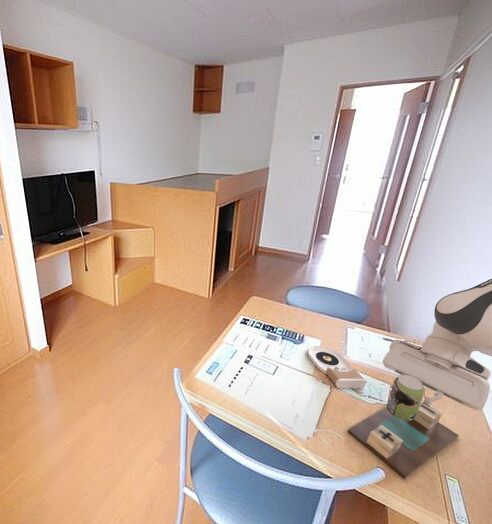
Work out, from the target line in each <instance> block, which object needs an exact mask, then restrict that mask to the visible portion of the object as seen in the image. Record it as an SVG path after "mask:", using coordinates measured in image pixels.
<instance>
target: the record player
mask: <svg viewBox="0 0 492 524" xmlns="http://www.w3.org/2000/svg"><path fill="white" fill-rule="evenodd" d="M307 355H308V358H309V359H310V360H311V361H312V363H313V365H315V367H316V368H317V369H318V370H320V371H321V372H322V373H323V374H325V375H327V377H328V378H329V379H330V380H331V381H332V383H333V384H334V386H336V387H337V389H362V388H365V387H366V385H367V380H366V379H365V378H364V377H363V376H362V375H361V373H359V371H357V370H356V369H355V368H353V366H352V365H351V362H349V361H348V360H347V359H346V358H345V357H344V355H342V354H341V353H340V352H339V351H337V350H336V349H333V348H331V347H328V346H324V345H313V346H311V347H310V348H309V349H308V353H307Z"/></svg>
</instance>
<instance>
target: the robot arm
mask: <svg viewBox="0 0 492 524" xmlns="http://www.w3.org/2000/svg"><path fill="white" fill-rule="evenodd" d="M433 316H434V319H435V322H434V323H433V326H432V331H431V332H430V334H428V335H427V337H426V338H425V340H424V341H423V343H422V345H421V346H420V345H417V344H415V343H411V342H408V341H407V340H404V339H394V340H392V341H391V343H390V344H389V347H388V348H389V350H388V351H387V353H386V354H385V355H384V357H383V359H382V364H383V367H384V368H386V369H388V370H390V371H392V372H395V373H397V374H398V375H410V376H413V377H415V378H417V379H418V380H420V381H421V382H422V384H423V387H426V388H428V389H429V390H432V391H434V396H433V397H428V396H425V397H424V399H423V404H425V405H426V406H428V407H430V406H432V404H433V403H434V402H437V401H439V400H441V399H442V398H443V396H445V397H447V398H449V399H451V400H453V401H454V402H457V403H459V404H461V405H462V406H465V407H468V408H470V409H471V410H474V411H481V410H483V409H484V407H485V406H486V403H487V400H488V398H489V394H490V383H489V381H488V380H489V379H490V377H491V375H492V373H491V370H490V369H489V368H487V367H486V366H484V365H483V364H482V363H480V362H478V361H477V360H475V359H474V358H473V357H471V355H472V353H473V352H479V353H481V354H483V355H486V356H489V357H492V277H490V278H487V279H485V280H483V281H481V282H479V283H477V284H475V285H472V286H470V287H468V288H464V289H462V290H458V291H455V292H453V293H449V294H447V295H445V296H443V297H442V298H440V299H439V300H438V301H437V302H436V304H435V306H434V314H433Z"/></svg>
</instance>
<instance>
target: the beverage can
mask: <svg viewBox="0 0 492 524" xmlns="http://www.w3.org/2000/svg"><path fill="white" fill-rule="evenodd" d="M392 383H393V384H392V386H391V389H390V393H389V397H388V400H387V403H386V407H387V409H388V411H389V412H390V413H391V414H392V415H394V416H395V417H397V418H399V419H402V420H406V421H411V420H413V419H415V417H416V414H417V411H418V409H419V406H420V403H421V400H423V398H424V394H425V393H426V391H425V386H424V385H423V384H422V382H421V381H420V380H418V379H417V378H415V377H413V376H410V375H401V374H399V375H398V376H397V377H395V378H394V380H393V382H392Z"/></svg>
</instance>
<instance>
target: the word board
mask: <svg viewBox="0 0 492 524" xmlns="http://www.w3.org/2000/svg"><path fill="white" fill-rule="evenodd" d="M423 401H424V399H422V400H421V403H420V406H419V409H418V411H417V414H416V417H415V419H413V420H411V421H406V420H402V419H399V418H397V417H395V416H394V415H392V414H391V413H390V412H389V411H388V409H387V406H386V407H384V408H383V409H381V410H379V411H376V413H374V414H372V415H370V416H368V417H367V418H365V419H363V420H362V421H360V422H359V423H356V424H355V425H353V426H352V427H350V428H348V429H347V433H348V434H349V435H350V436H352V437H353V438H354V439H355V440H357V441H358V442H359V443H360V444H361V445H362V446H364V447H365V448H366V449H367V450H369V452H371V453H372V454H373V455H375V456H376V458H378V459H379V460H381V461H382V462H383V463H384V464H385V465H387V466H388V467H389V468H390V469H391V470H393V471H394V472H395V473H396V474H397V475H398V476H400V477H401V478H402V479H404V480H406V479H407V478H408V477H409V476H411V475H412V474H414V472H416V471H417V470H418V469H419V468H421V467H422V466H423V465H425V464H426V463H427V462H428V461H430V460H431V459H432V458H434V457H435V456H436V455H437V454H439V453H440V452H441V451H442V450H444V449H445V448H446V447H448V446H449V445H450V444H452V443H453V442H455V440H457V439H458V438H459V436H460V435H459V434H458V433H456V432H454V431H453V430H452V429H451V428H448V427H447V426H445V425H444V424H442V423H441V422H440V420H441V418H442V416H443V414H444V412H443V411H442V410H439V409H438V408H437V407H434V406H433V405H431V406H430V407H428V406H426V405H425V404H423Z"/></svg>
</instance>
